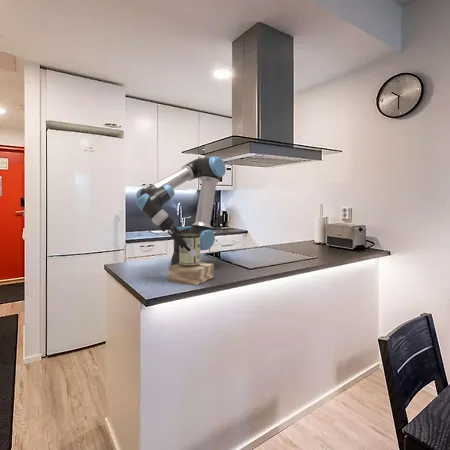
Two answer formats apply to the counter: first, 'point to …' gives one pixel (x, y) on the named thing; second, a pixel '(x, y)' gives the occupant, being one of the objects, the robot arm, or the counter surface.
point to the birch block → (191, 273)
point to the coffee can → (194, 243)
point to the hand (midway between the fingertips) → (196, 253)
